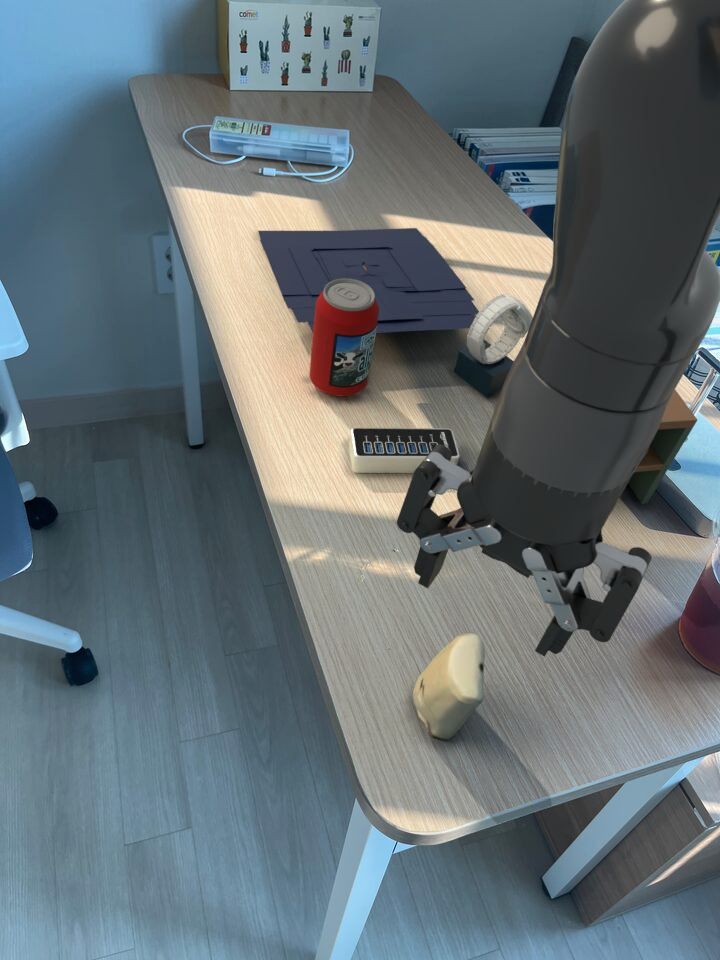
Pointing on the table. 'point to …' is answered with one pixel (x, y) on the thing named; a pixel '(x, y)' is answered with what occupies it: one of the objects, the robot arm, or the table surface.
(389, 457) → the multiport hub
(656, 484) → the shelf
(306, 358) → the table surface
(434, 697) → the beige rounded block
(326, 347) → the beverage can
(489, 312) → the watch
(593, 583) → the table surface
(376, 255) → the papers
